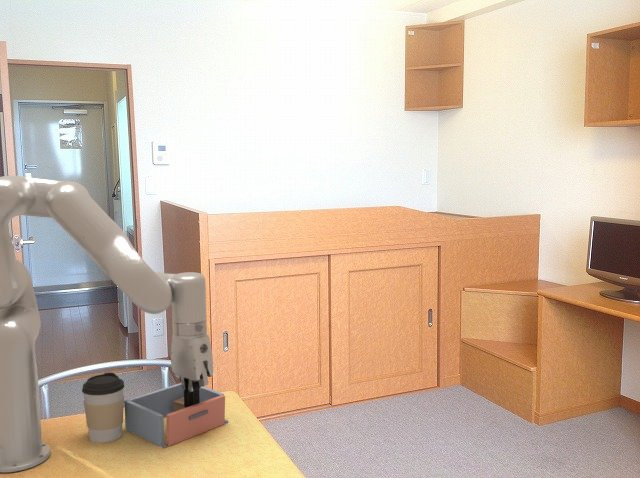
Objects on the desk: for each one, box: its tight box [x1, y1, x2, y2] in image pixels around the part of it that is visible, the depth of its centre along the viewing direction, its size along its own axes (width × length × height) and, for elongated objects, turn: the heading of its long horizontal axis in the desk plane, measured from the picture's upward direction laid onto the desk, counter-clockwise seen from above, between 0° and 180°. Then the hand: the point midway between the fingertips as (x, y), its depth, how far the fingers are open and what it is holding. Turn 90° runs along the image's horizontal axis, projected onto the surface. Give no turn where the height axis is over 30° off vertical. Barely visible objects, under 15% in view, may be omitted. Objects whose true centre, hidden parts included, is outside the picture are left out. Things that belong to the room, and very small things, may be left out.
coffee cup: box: [81, 371, 125, 444], centre depth 144 cm, size 9×9×15 cm
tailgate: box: [165, 394, 226, 447], centre depth 144 cm, size 16×1×7 cm, turn 138°
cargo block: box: [173, 397, 186, 412], centre depth 156 cm, size 4×4×4 cm
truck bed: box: [124, 382, 229, 449], centre depth 149 cm, size 18×15×8 cm
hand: (192, 406), depth 145 cm, fingers closed
